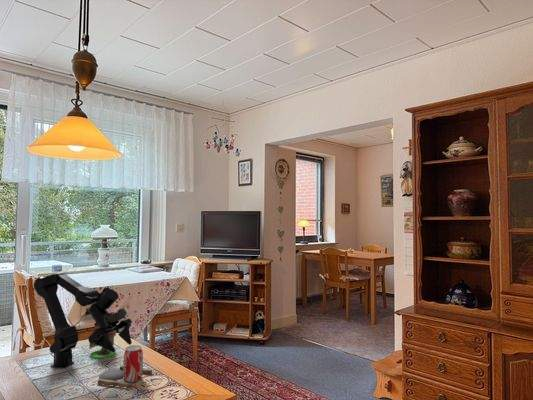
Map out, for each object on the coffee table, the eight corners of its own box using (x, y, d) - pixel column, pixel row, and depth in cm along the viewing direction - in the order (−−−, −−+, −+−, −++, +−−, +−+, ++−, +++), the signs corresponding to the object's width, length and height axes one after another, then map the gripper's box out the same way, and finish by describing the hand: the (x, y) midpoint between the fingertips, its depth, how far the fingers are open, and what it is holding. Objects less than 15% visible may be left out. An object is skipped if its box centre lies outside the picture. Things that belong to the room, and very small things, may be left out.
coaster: (93, 379, 145) (93, 378, 145) (110, 369, 155) (110, 368, 155) (115, 382, 143) (116, 381, 143) (131, 372, 152) (131, 371, 152)
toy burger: (123, 353, 173) (124, 320, 173) (96, 361, 163) (97, 326, 164) (111, 347, 180) (112, 315, 181) (84, 354, 171) (85, 320, 171)
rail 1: (97, 384, 141) (97, 380, 141) (99, 382, 142) (100, 378, 142) (130, 388, 138) (130, 384, 138) (132, 387, 139) (132, 383, 139)
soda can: (136, 384, 141) (137, 351, 142) (119, 382, 143) (120, 350, 143) (145, 376, 148) (146, 345, 149) (129, 374, 150) (130, 344, 150)
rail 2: (119, 370, 154) (119, 366, 154) (121, 369, 155) (121, 365, 155) (150, 374, 150) (150, 370, 150) (152, 373, 151) (152, 369, 152)
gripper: (95, 308, 142) (117, 341, 137) (129, 298, 159) (150, 328, 155) (78, 327, 144) (100, 361, 140) (113, 315, 161) (134, 345, 157)
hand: (122, 347), depth 148 cm, fingers open, 9 cm apart
